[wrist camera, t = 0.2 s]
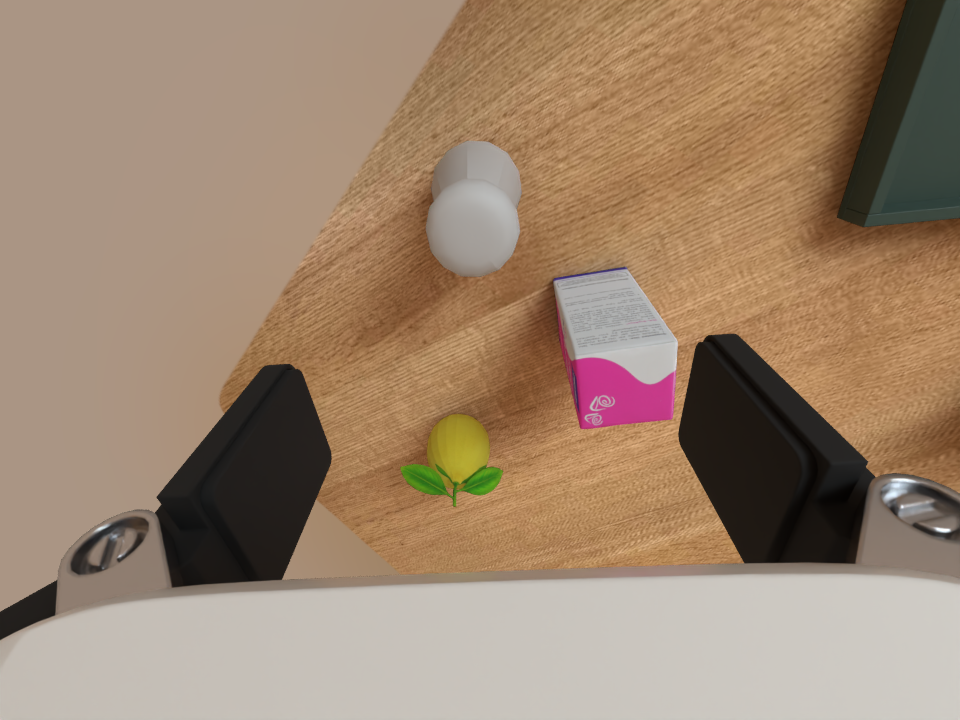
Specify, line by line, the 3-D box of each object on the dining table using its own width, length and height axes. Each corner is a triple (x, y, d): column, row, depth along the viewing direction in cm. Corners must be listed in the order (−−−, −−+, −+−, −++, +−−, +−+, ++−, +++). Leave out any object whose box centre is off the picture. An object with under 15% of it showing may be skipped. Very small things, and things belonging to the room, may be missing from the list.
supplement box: (549, 278, 33) (574, 353, 24) (627, 264, 33) (686, 337, 23) (555, 342, 36) (580, 433, 27) (627, 331, 36) (679, 420, 26)
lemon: (412, 414, 41) (392, 499, 32) (460, 383, 39) (452, 465, 30) (457, 456, 43) (450, 544, 35) (504, 429, 41) (508, 515, 33)
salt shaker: (435, 224, 31) (407, 295, 20) (434, 135, 28) (400, 163, 17) (516, 227, 31) (531, 300, 20) (523, 139, 28) (545, 168, 17)
